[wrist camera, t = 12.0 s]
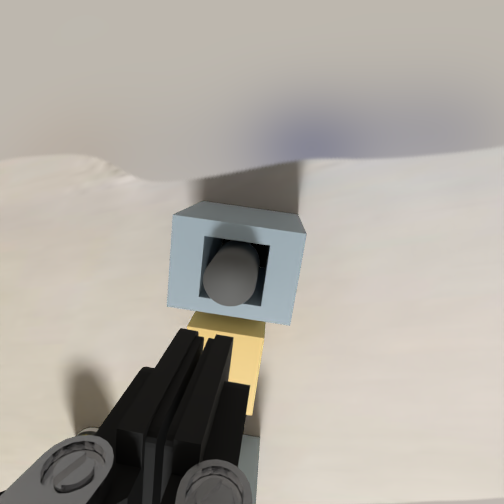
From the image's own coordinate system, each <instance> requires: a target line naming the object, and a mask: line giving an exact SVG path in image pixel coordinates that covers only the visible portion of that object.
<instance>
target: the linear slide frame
mask: <svg viewBox="0 0 504 504" xmlns="http://www.w3.org/2000/svg"><path fill="white" fill-rule="evenodd" d="M306 235H307V234H306V231H305V229H304V227H303V225H302V222H301V220H300V218H299V216H298V214H292V213H285V212H278V211H271V210H263V209H256V208H249V207H242V206H235V205H228V204H221V203H214V202H207V201H202V202H199V203H197V204H195V205H193V206H191V207H189V208H186V209H184V210H182V211H180V212H178V213H176V214H173V221H172V236H171V251H170V266H169V282H168V297H167V307H174V308H180V309H186V310H193V311H199V312H206V313H212V314H219V315H225V316H231V317H238V318H244V319H251V320H257V321H264V322H270V323H276V324H283V325H289V326H290V323H291V318H292V312H293V306H294V301H295V295H296V290H297V284H298V279H299V273H300V268H301V262H302V257H303V251H304V246H305V240H306ZM223 239H230V240H236V241H243V242H250V243H257V244H264V245H269V248H268V254H267V261H266V268H263V267H259V270H258V276H257V281H256V286H255V290H254V293H253V295H252V296H251V297H250V298H249V300H247V301H246V302H245V303H243V304H241V305H238V306H223V305H220V304H218V303H216V302H215V301H213V300H212V299H211V298H210V297H209V296H208V294H207V293H206V291H205V289H204V285H203V275H204V272H205V270H206V268H207V266H208V265H209V263H210V262H211V261H212V259H213V258H214V256H215V255H216V253H217V252H218V251H219V249H220V248H221V247H222V241H223ZM259 444H260V437H254V436H248V435H243V437H242V443H241V450H240V457H239V463H238V468H239V469H240V470H241V471H242V472H243V473H244V474H245V476H246V477H247V479H248V481H249V483H250V487H251V492H252V502H253V504H256V491H257V475H258V460H259Z"/></svg>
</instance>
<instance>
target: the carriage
mask: <svg viewBox="0 0 504 504" xmlns="http://www.w3.org/2000/svg"><path fill="white" fill-rule="evenodd" d="M187 329H188V330H194V331H198V332H199V336H201V337H204V346H203V349H204V347H205V345H206V342H207V340H208V338H213V339H214V338H215V336H216V334H218V335H224V336H230V337H234V340H233V348H232V356H231V364H230V371H229V379H228V381H229V382H235V383H240V384H246V385H250V391H249V397H248V404H247V411H246V415H251V416H252V412H253V406H254V400H255V393H256V387H257V381H258V375H259V368H260V362H261V356H262V349H263V343H264V335H265V322H264V321H257V320H251V319H244V318H238V317H231V316H225V315H219V314H212V313H206V312H199V311H196V312H195V313H194V315H193V317H192V319H191V320H190V322H189V324H188V326H187Z"/></svg>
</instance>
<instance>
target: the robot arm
mask: <svg viewBox="0 0 504 504" xmlns="http://www.w3.org/2000/svg"><path fill="white" fill-rule="evenodd" d="M233 340H234V337H230V336H224V335H218V334H216V336H215V338H214V339H213V338H208V340H207V342H206V345H205V347H204V349H203V346H204V337H201V336H199V332H198V331H194V330H188V329H182V328H180V330H179V331H178V333H177V334H176V336H175V337H174V339H173V340H172V342H171V344H170V345H169V347H168V348H167V350H166V351H165V353H164V355H163V356H162V358H161V359H160V361H159V362H158V364H157V365H156V367H155V368H150V367H143V368H142V369H141V370H140V371H139V373H138V374H137V375H136V377H135V378H134V380H133V381H132V382H131V384H130V385H129V387H128V388H127V390H126V391H125V392H124V394H123V395H122V397H121V398H120V399H119V401H118V402H117V404H116V405H115V407H114V408H113V409H112V411H111V412H110V414H109V415H108V417H107V418H106V419H105V421H104V422H103V424H102V425H101V426H100V428H99V429H98V431H97V432H96V434H95V435H94V436H93V435H81V436H76V437H72V438H69V439H66V440H64V441H62V442H60V443H58V444H56V445H54V446H53V447H52V448H50V449H49V450H48V451H47V452H45V453H44V454H43V455H42V456H41V457H40V458H39V459H38V460H37V461H36V462H35V463H34V464H33V465H32V466H31V467H30V468H29V469H27V470H26V471H25V472H24V473H23V474H22V475H21V476H20V477H19V478H18V479H17V480H16V481H15V482H14V483H13V484H12V485H11V486H10V487H9V488H8V489H7V490H5V491H3V492H0V504H253V502H252V492H251V487H250V483H249V481H248V479H247V477H246V476H245V474H244V473H243V472H242V471H241V470H240V469H239V468H238V463H239V457H240V450H241V443H242V437H243V430H244V424H245V417H246V411H247V404H248V397H249V391H250V385H246V384H240V383H235V382H229V381H228V379H229V371H230V364H231V356H232V348H233Z"/></svg>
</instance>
